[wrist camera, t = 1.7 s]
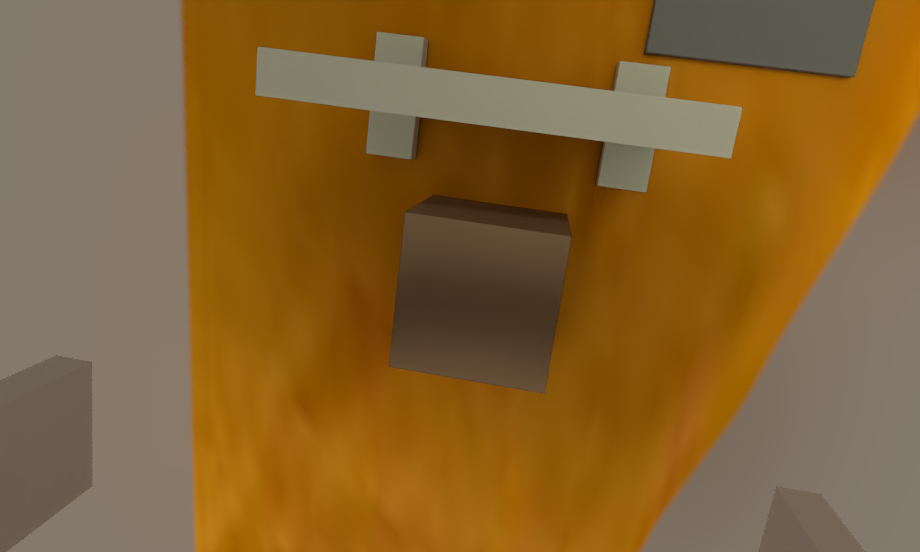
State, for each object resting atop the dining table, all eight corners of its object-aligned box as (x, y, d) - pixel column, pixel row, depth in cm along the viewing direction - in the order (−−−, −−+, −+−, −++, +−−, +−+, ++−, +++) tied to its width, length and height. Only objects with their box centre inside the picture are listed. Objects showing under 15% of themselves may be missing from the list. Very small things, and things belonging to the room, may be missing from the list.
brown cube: (433, 195, 29) (405, 212, 23) (566, 214, 28) (571, 236, 22) (418, 324, 30) (388, 372, 24) (544, 345, 30) (543, 399, 24)
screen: (382, 35, 27) (261, -35, 16) (666, 69, 26) (762, 21, 14) (372, 152, 28) (252, 168, 17) (642, 190, 27) (712, 235, 16)
